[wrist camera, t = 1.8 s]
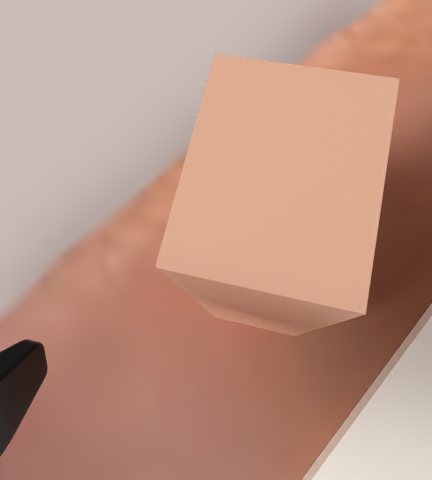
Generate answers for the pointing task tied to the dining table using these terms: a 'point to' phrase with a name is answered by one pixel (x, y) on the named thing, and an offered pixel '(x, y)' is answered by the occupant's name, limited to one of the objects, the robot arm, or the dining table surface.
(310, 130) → the tall peach block
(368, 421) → the dock
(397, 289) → the dining table surface
